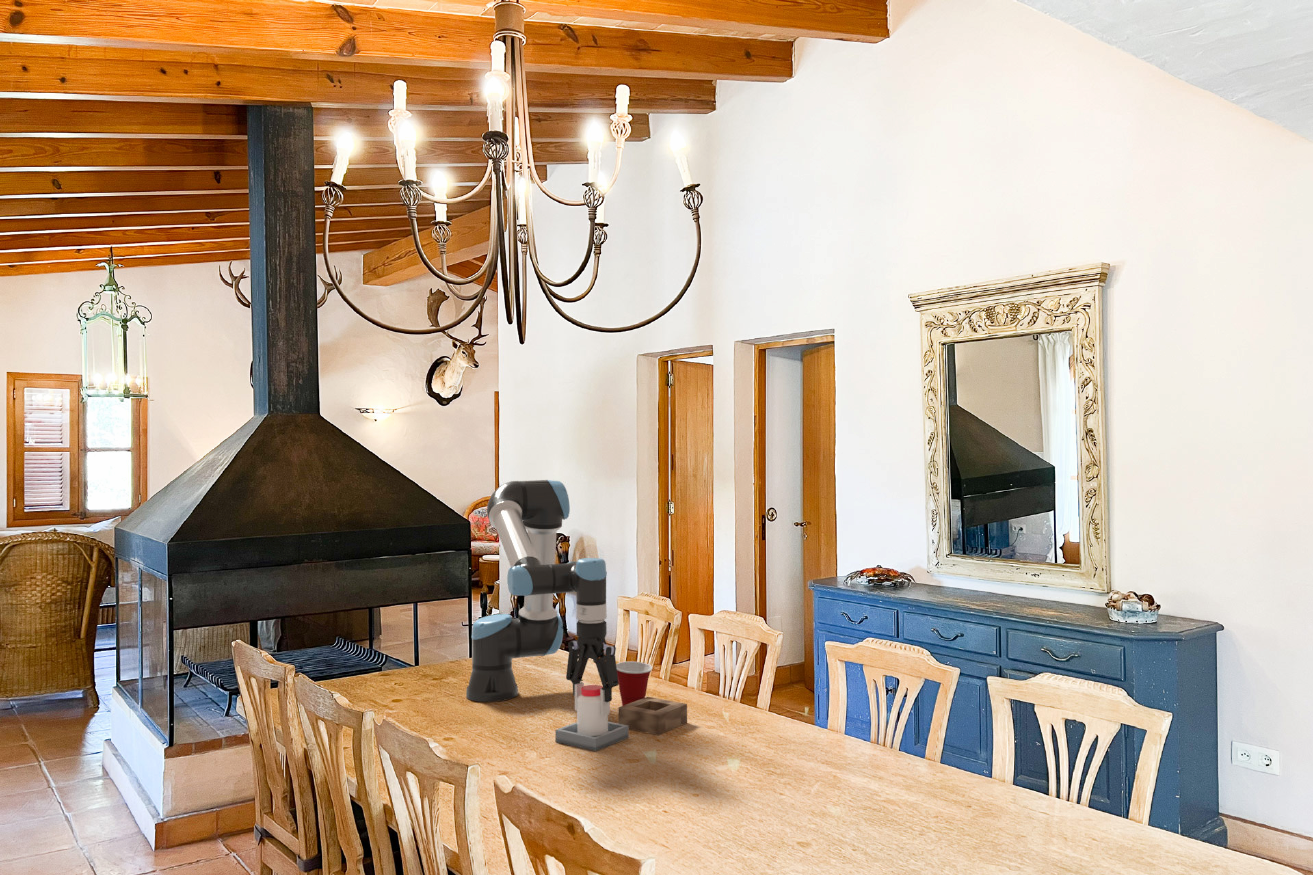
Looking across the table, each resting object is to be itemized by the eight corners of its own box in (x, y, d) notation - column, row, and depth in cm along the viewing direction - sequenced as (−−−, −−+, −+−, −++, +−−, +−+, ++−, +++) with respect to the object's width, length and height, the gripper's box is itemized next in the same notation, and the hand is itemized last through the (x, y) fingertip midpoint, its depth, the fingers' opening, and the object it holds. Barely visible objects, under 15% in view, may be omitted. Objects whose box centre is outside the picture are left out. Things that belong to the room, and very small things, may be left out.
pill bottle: (609, 726, 235) (609, 683, 235) (606, 736, 227) (605, 691, 227) (579, 726, 235) (579, 683, 236) (575, 736, 228) (574, 691, 228)
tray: (555, 741, 230) (555, 729, 230) (589, 728, 240) (589, 717, 240) (595, 751, 222) (595, 738, 222) (628, 737, 233) (628, 725, 233)
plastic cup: (634, 715, 252) (634, 671, 252) (606, 708, 259) (606, 665, 260) (660, 707, 260) (660, 664, 261) (632, 700, 268) (632, 659, 268)
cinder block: (618, 726, 242) (618, 707, 242) (647, 714, 253) (647, 696, 253) (658, 734, 235) (658, 715, 235) (687, 722, 245) (687, 703, 245)
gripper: (550, 618, 235) (551, 708, 234) (614, 626, 223) (615, 721, 222) (570, 614, 241) (571, 702, 240) (633, 622, 229) (633, 714, 228)
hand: (592, 711), depth 231 cm, fingers closed on pill bottle, 8 cm apart
